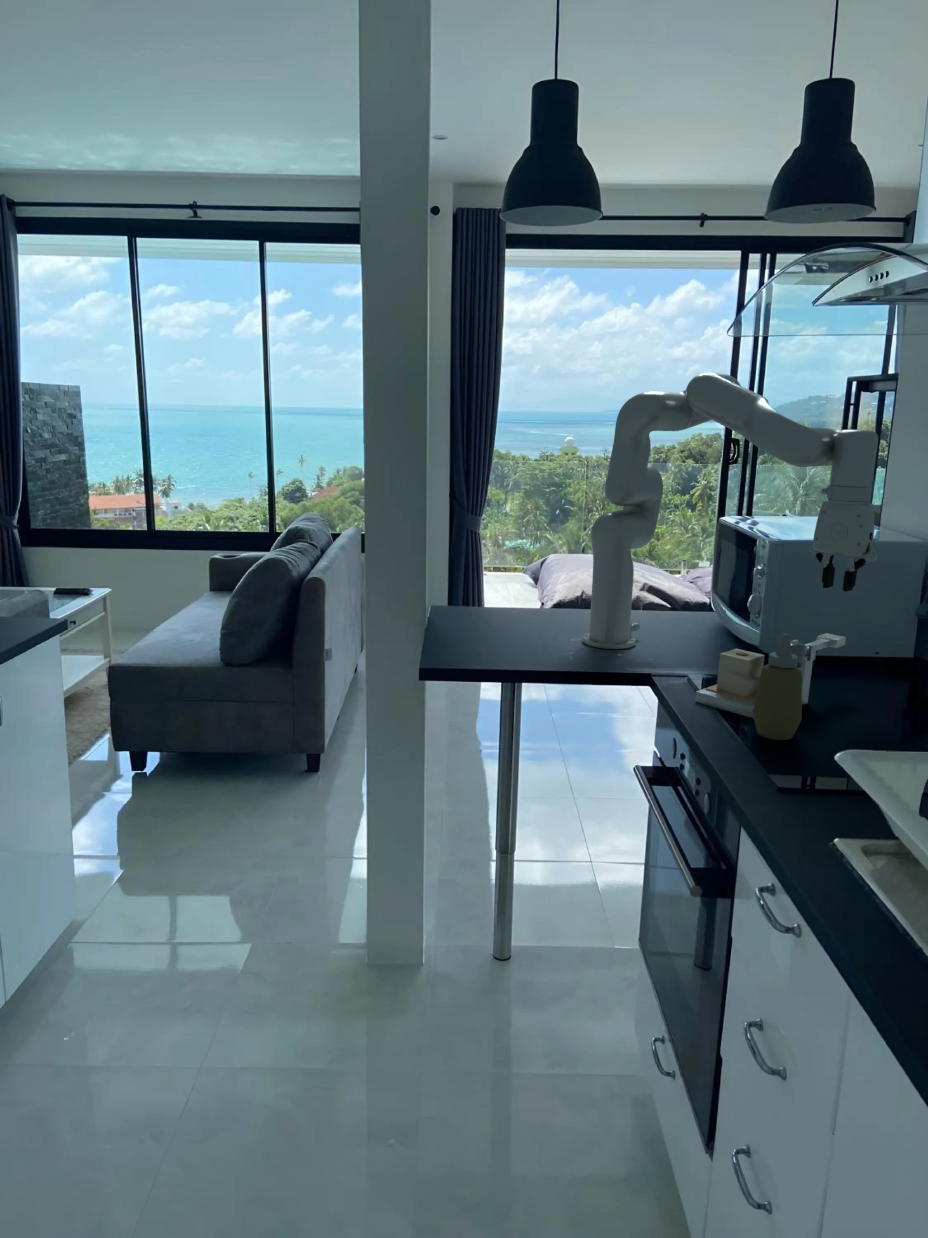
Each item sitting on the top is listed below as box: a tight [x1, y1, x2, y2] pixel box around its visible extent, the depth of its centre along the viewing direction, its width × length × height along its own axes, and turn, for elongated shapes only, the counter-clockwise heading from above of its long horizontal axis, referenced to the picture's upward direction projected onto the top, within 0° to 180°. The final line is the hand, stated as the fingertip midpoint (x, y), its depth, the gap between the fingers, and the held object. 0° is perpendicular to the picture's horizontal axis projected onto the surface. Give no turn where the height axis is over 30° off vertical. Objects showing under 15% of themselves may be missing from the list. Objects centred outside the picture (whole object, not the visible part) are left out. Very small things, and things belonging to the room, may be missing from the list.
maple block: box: [716, 648, 766, 696], centre depth 167 cm, size 6×6×7 cm
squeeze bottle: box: [753, 633, 803, 741], centre depth 148 cm, size 8×8×18 cm
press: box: [694, 639, 817, 719], centre depth 166 cm, size 16×15×12 cm
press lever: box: [790, 632, 847, 668], centre depth 168 cm, size 21×4×4 cm, turn 133°
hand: (837, 587), depth 171 cm, fingers open, 3 cm apart
